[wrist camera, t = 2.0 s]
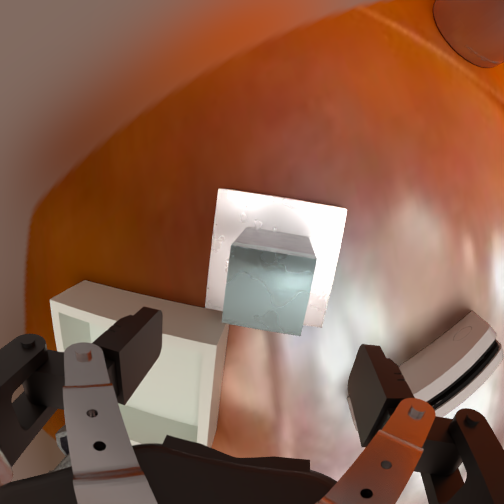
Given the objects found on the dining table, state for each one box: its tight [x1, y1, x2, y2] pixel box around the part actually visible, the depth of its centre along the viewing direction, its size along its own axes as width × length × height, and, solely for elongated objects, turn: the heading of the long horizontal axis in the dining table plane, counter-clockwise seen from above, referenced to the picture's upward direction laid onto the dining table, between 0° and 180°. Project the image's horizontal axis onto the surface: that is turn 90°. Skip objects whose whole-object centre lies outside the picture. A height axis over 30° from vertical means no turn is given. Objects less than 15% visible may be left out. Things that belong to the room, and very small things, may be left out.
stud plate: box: [205, 188, 347, 328], centre depth 23 cm, size 10×10×7 cm
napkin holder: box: [347, 311, 504, 431], centre depth 23 cm, size 17×5×10 cm, turn 128°
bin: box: [50, 280, 229, 448], centre depth 27 cm, size 16×16×6 cm
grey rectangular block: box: [222, 227, 317, 336], centre depth 21 cm, size 5×5×7 cm
